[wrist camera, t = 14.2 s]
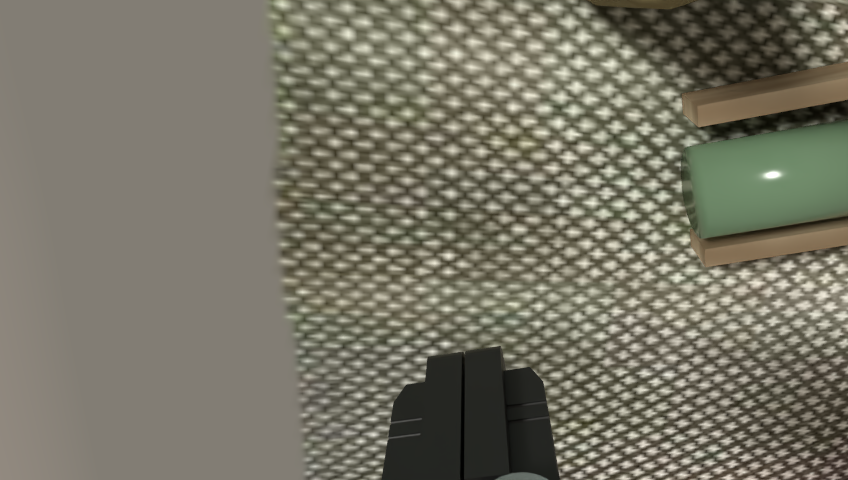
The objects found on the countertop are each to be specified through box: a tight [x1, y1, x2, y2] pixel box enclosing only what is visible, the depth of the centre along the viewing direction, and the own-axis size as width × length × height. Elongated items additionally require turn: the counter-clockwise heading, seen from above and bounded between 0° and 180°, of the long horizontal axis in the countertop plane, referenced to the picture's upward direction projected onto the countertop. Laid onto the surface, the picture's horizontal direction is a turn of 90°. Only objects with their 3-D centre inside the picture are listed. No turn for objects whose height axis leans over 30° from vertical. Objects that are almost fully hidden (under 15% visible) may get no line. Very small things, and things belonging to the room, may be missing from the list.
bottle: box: [681, 119, 848, 239], centre depth 38 cm, size 5×5×16 cm
